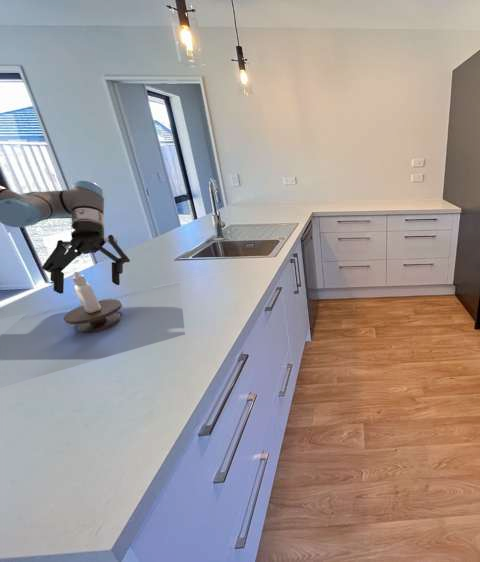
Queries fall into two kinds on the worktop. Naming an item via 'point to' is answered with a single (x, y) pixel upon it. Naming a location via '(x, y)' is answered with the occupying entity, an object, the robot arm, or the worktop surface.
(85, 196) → the robot arm
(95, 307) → the eye dropper bottle
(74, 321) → the walnut stand
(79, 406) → the worktop surface
